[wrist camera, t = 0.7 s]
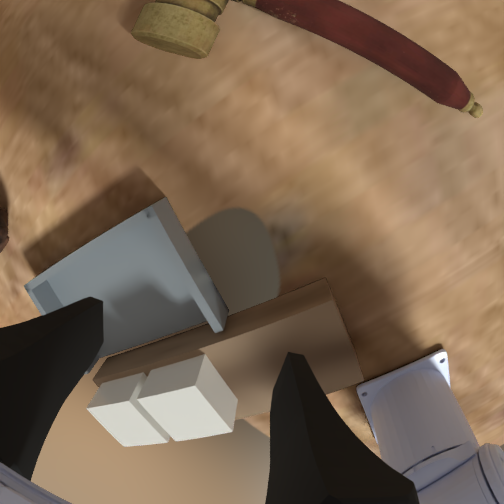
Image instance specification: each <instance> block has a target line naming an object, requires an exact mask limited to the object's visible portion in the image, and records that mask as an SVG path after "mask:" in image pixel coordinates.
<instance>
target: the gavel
mask: <svg viewBox="0 0 504 504" xmlns="http://www.w3.org/2000/svg"><path fill="white" fill-rule="evenodd" d="M228 1H229V0H156V1H155V3H147V4H145V5H144V7H143V9H142V11H141V13H140V15H139V17H138V19H137V21H136V24H135V26H134V28H133V30H132V32H131V34H132V35H133V37H134V38H135V39H136V40H138V41H140V42H142V43H144V44H147V45H149V46H152V47H155V48H158V49H161V50H164V51H167V52H171V53H175V54H179V55H182V56H186V57H190V58H196V59H201V58H205V57H207V56H208V54H209V52H210V50H211V48H212V45H213V43H214V41H215V39H216V37H217V35H218V33H219V31H220V28H219V26H218V25H217V24H216V23H215V20H216V18H217V16H218V15H220V14H222V12H223V10H224V8H225V7H226V5H227V3H228ZM232 1H236V2H240V1H241V0H232ZM242 1H243V3H244V4H247V5H250V6H253V7H256V8H258V9H260V10H262V11H264V12H266V13H268V14H270V15H272V16H273V17H275V18H278V19H280V20H283V21H286V22H288V23H291V24H293V25H296V26H298V27H301V28H303V29H306V30H308V31H310V32H313V33H315V34H317V35H319V36H322V37H324V38H326V39H328V40H330V41H332V42H335V43H337V44H339V45H341V46H343V47H345V48H347V49H349V50H351V51H353V52H355V53H357V54H359V55H360V56H362V57H364V58H366V59H368V60H370V61H372V62H373V63H375V64H377V65H379V66H380V67H382V68H384V69H386V70H387V71H389V72H391V73H392V74H394V75H396V76H397V77H399V78H401V79H402V80H404V81H405V82H407V83H409V84H410V85H412V86H413V87H415V88H416V89H418V90H419V91H421V92H422V93H424V94H425V95H427V96H428V97H430V98H431V99H433V100H434V101H435V102H437V103H439V104H443V105H446V106H449V107H452V108H455V109H458V110H459V111H461V112H468V111H469V113H470V114H471V115H472V116H473V117H475V118H479V117H480V116H481V115H482V113H483V109H482V107H481V106H480V105H479V104H478V103H476V102H474V96H473V94H472V93H471V92H470V91H469V90H468V88H467V87H466V85H465V84H464V82H463V81H462V79H461V78H460V76H459V75H458V73H457V72H456V71H454V70H453V69H452V68H450V67H449V66H448V65H446V64H445V63H444V62H442V61H441V60H440V59H438V58H437V57H435V56H434V55H433V54H431V53H430V52H428V51H427V50H425V49H424V48H422V47H421V46H419V45H418V44H416V43H415V42H413V41H412V40H410V39H408V38H407V37H405V36H404V35H402V34H400V33H399V32H397V31H395V30H394V29H392V28H390V27H389V26H387V25H385V24H383V23H382V22H380V21H378V20H376V19H374V18H373V17H371V16H369V15H367V14H365V13H363V12H361V11H359V10H357V9H355V8H353V7H351V6H349V5H347V4H345V3H343V2H341V1H339V0H242Z"/></svg>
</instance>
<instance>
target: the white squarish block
mask: <svg viewBox="0 0 504 504" xmlns="http://www.w3.org/2000/svg"><path fill="white" fill-rule="evenodd" d="M146 379H147V376H146V375H145V373H144V372H142V373H139V374H135V375H131V376H127V377H124V378H120V379H116V380H112V381H108V382H104V383H102V384H101V386H100V387H99V389H98V390H97V392H96V394H95V396H94V397H93V398H92V400H91V402H90V403H89V405H88V407H87V410H88V411H89V412H90V413H91V414H92V415H93V416H94V417H95V418H96V419H97V420H98V421H99V422H100V424H101V425H102V426H103V427H104V428H105V429H106V430H107V431H108V432H109V433H110V434H111V435H112V436H113V437H114V438H115V439H117V441H118V442H120V443H121V444H122V445H123V446H124V447H127V446H138V445H150V444H159V443H167V442H168V441H169V438H170V435H169V434H168V433H167V432H166V431H165V430H164V429H163V428H162V427H161V426H160V425H159V423H158V422H157V421H156V420H155V419H154V418H153V417H152V416H151V415H150V414H149V413H148V412H147V410H146V409H145V408H144V407H143V406H142V405H141V404H140V403H139V401H138V400H137V397H138V395H139V393H140V391H141V389H142V387H143V385H144V383H145V381H146Z"/></svg>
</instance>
